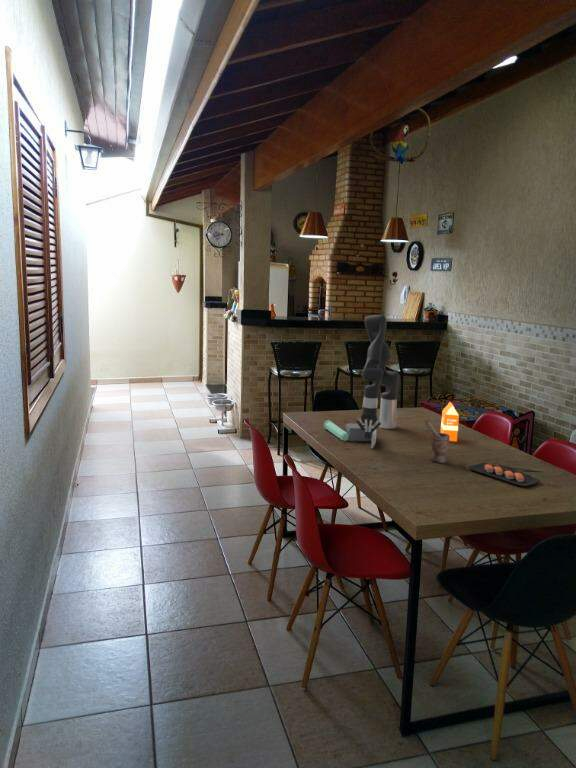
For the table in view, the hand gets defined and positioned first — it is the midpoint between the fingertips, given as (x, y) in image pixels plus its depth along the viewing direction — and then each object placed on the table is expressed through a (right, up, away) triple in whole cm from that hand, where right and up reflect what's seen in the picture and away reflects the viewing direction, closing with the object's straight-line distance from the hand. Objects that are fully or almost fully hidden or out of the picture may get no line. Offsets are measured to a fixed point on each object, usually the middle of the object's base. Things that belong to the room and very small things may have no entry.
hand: (367, 438), depth 294 cm
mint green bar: (-14, 0, +20) cm, 25 cm away
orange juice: (+48, -2, +22) cm, 52 cm away
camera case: (-2, -1, +15) cm, 16 cm away
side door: (+4, -3, +4) cm, 7 cm away
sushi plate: (+62, -13, -33) cm, 71 cm away
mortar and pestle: (+30, -9, -19) cm, 36 cm away
